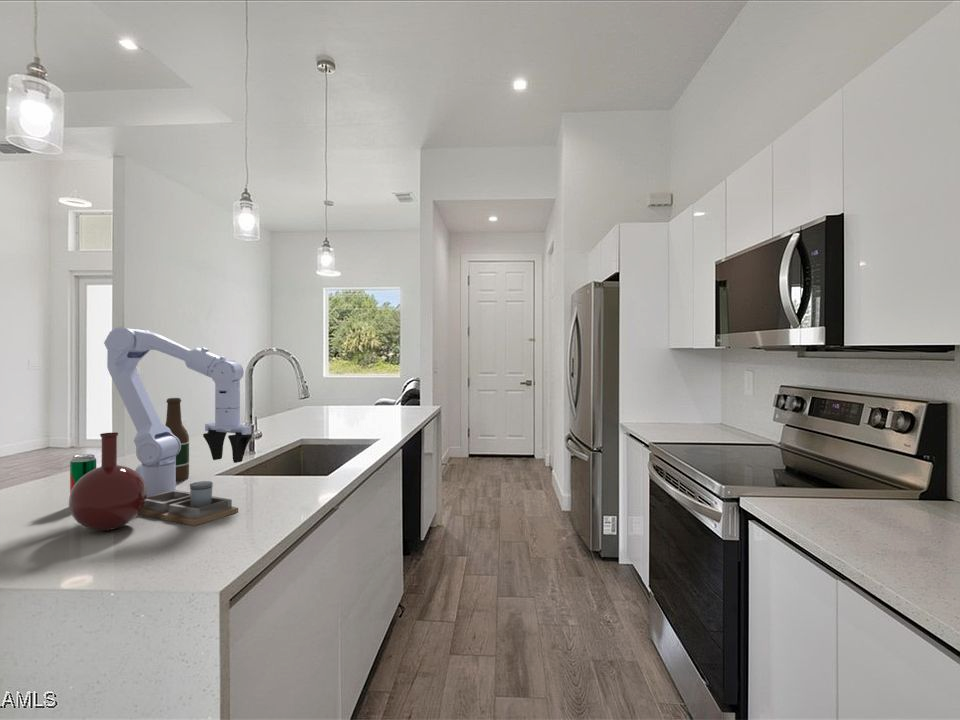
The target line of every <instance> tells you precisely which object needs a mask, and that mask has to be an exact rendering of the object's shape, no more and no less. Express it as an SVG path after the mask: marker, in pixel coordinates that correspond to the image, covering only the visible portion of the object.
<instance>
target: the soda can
mask: <svg viewBox="0 0 960 720" xmlns="http://www.w3.org/2000/svg"><path fill="white" fill-rule="evenodd" d="M96 468H97V458H96V457H95V454H91V453H90V454H87V453H86V454H79V455H73V456H72V457H71V460H70V461H69V494H70V493H71V491H72V489H73V487H74V485H75V484H76V482H77V481H78V480H79V479H80V478H81V477H82V476H84V475H85V474H86V473H88V472H90V471H91V470H94V469H96Z"/></svg>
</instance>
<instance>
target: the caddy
mask: <svg viewBox="0 0 960 720" xmlns="http://www.w3.org/2000/svg"><path fill="white" fill-rule="evenodd" d="M232 501H233V500H232V499H230V498H224V497H218V496H214V495H212V504H210V505H206V506H203V507H199V508H193V507H190V491H185V490H180V489H179V490H178V489H176V490H172V491H168V492H164V493H160V494H156V495H152V496H148V497H146V501H145V504H144V506H143V508H142V510H141V511H140V512H139V514H138V515H141V516H145V517H150V518H154V519H159V520H164V521H169V522H173V523H178V524H184V525H187V526H194V527H196V526H199V525H203V524H205V523H207V522H211V521H214V520H218V519H221V518H223V517H227V516H230V515H232V514H236V513H239V507H236V506H233V504H232Z"/></svg>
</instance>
